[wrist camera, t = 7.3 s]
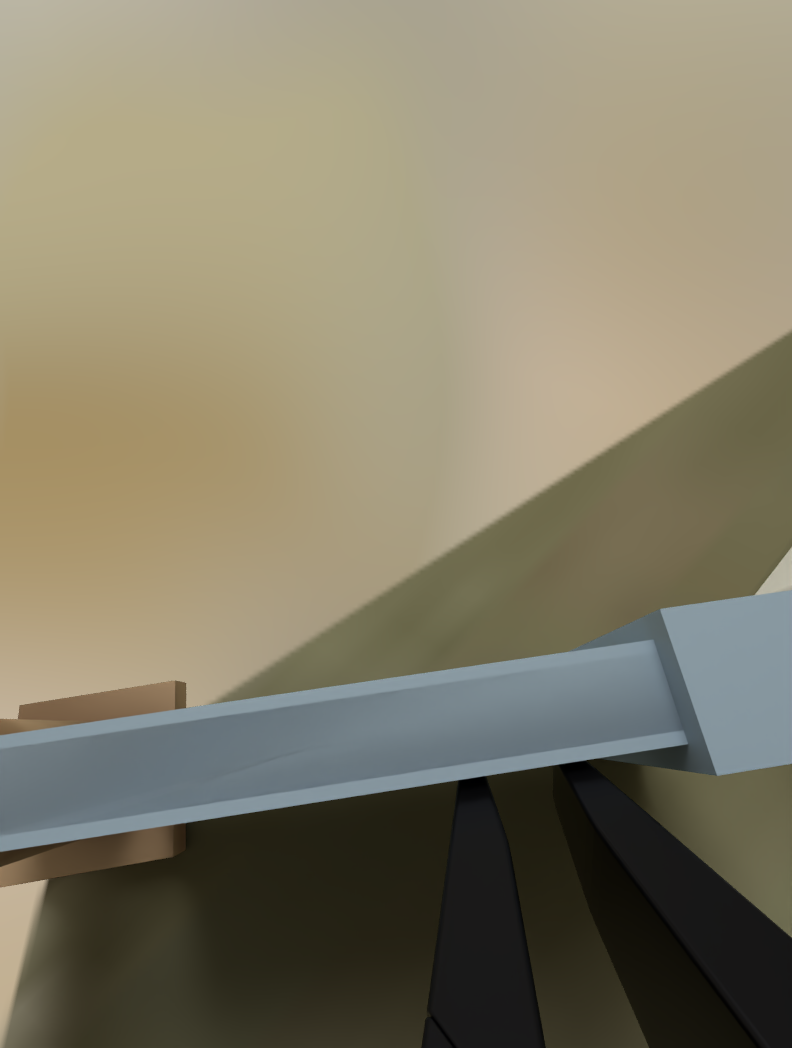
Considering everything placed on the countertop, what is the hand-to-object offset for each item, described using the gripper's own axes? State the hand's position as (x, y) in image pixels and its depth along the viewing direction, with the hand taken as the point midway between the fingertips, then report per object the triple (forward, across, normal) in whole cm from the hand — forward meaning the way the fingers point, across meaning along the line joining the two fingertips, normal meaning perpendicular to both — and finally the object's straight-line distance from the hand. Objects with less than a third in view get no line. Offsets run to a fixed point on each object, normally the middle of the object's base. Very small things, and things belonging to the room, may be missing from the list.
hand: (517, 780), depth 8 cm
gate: (+5, +2, +4) cm, 7 cm away
